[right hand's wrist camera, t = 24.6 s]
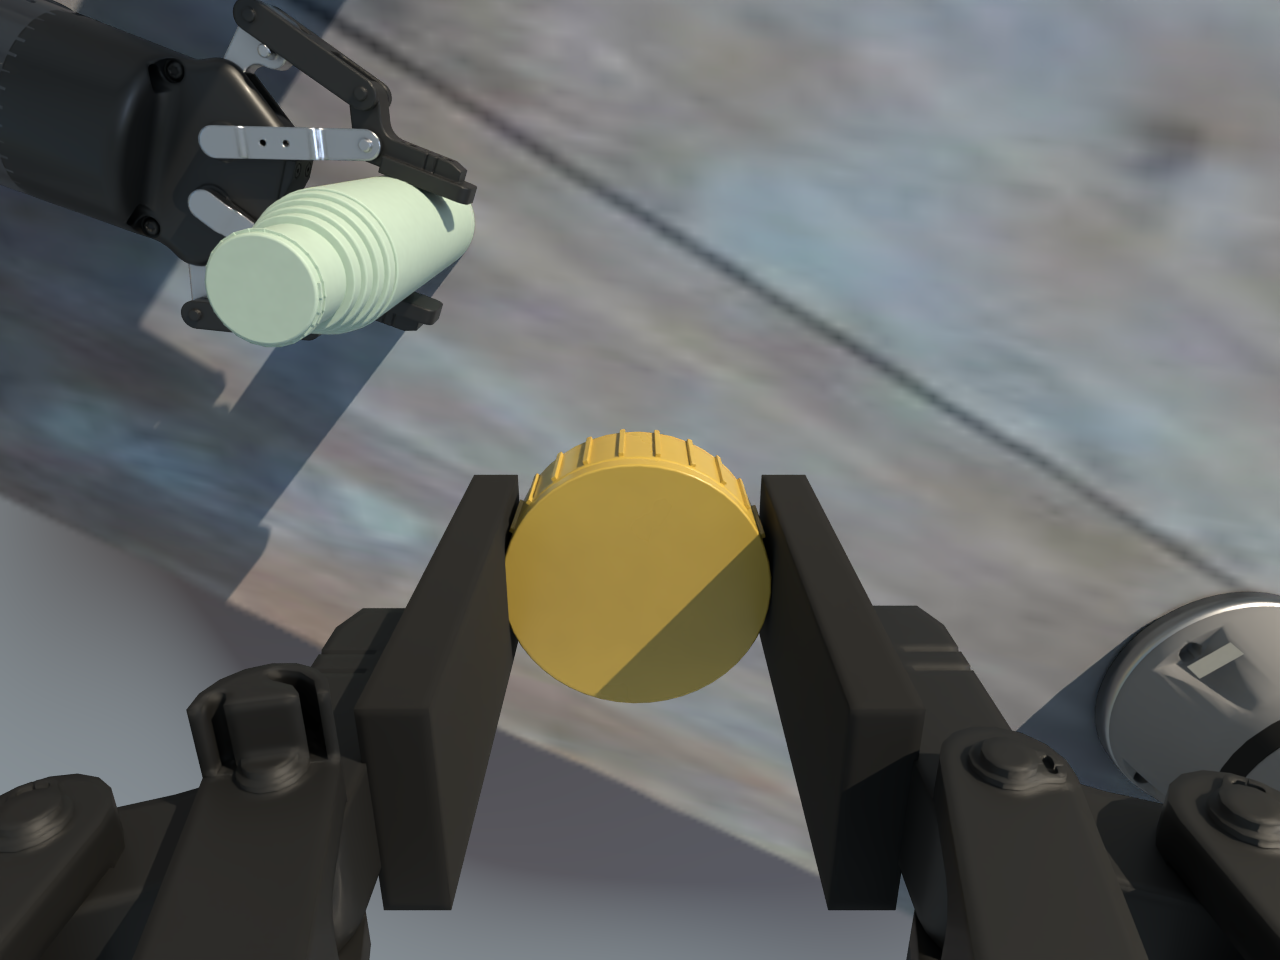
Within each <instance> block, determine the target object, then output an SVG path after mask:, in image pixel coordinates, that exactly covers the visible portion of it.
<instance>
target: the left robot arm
mask: <svg viewBox="0 0 1280 960" xmlns="http://www.w3.org/2000/svg"><path fill="white" fill-rule="evenodd" d="M233 16H234V19H235V21H236V23H237V25H238V27H237V29H236V32H235V34H234V36H233V38H232V40H231V42H230V45H229V47H228V49H227V51H226V53H225V55H224V58H209V59H202V60H197V59H194V58H191V57H188V56H186V55H183V54H181V53H178V52H175V51H173V50H170V49H168V48H165V47H163V46H160V45H158V44H155V43H153V42H150V41H147V40H145V39H142V38H140V37H137V36H135V35H132V34H130V33H127V32H124V31H122V30H119V29H117V28H114V27H112V26H109V25H107V24H104V23H102V22H99V21H97V20H94V19H91V18H89V17H86V16H84V15H81V14H79V13H75V12H73V11H72V10H71V9H69V8H68V7H66V6H64V5H62V4H60V3H58V2H56V1H53V0H0V185H3V186H6V187H8V188H11V189H14V190H17V191H20V192H23V193H25V194H28V195H31V196H34V197H36V198H39V199H42V200H45V201H48V202H50V203H53V204H56V205H59V206H62V207H65V208H67V209H70V210H73V211H76V212H79V213H81V214H84V215H87V216H90V217H93V218H95V219H98V220H101V221H104V222H107V223H109V224H112V225H115V226H118V227H120V228H123V229H126V230H129V231H132V232H134V233H137V234H140V235H143V236H146V237H149V238H152V239H155V240H157V241H159V242H161V243H163V244H164V245H166V246H167V247H168V248H169V249H171V250H172V251H173V252H174V253H175V254H176V255H177V256H178V257H179V258H180V259H181V260H183V261H184V262H186V263H188V264H189V273H190V283H191V294H192V301H189V302H187V303H185V304H184V305H183V307H182V309H181V315H182V318H183V320H184V322H185V323H186V324H187V325H189V326H190V327H192V328H196V329H205V330H215V331H224V332H232V331H231V330H229V329H228V328H227V327H226V326H225V325H223V323H222V321H221V320H220V319H219V318H218V316H217V315H216V314H215V312H214V310H213V308H212V306H211V305H210V302H209V299H208V297H207V293H206V287H205V271H206V265H207V262H208V259H209V257H210V254H211V252H212V251H213V250H214V248H215V247H216V246H217V245H218V243H219V242H220V241H221V240H222V239H224V238H225V237H227V236H229V235H230V234H232V233H233V232H237V231H240V230H244V229H248V228H252V227H253V226H254V224H255V223H256V221H257V220H258V219H259V217H260V216H261V215H262V213H263V212H264V211H265V210H266V209H267V208H268V207H269V206H270V205H272V204H273V203H274V202H276V201H277V200H279V199H281V198H282V197H284V196H286V195H287V194H289V193H292V192H294V191H297V190H301V189H304V187H305V185H306V183H307V182H308V180H309V178H310V173H311V169H312V164H313V160H345V161H366V162H369V163H371V164H374V165H377V166H379V167H380V168H379V173H381V174H384V175H387V176H389V177H392V178H394V179H398V180H401V181H403V182H406V183H408V184H410V185H413V186H415V187H418V188H420V189H423V190H426V191H428V192H431V193H434V194H436V195H439V196H441V197H444V198H447V199H449V200H452V201H454V202H457V203H460V204H464V205H468V204H471V203H473V200H474V196H475V193H476V189H477V186H475V185H473V184H471V183H468V182H466V181H464V180H465V176H466V173H467V170H466V169H465V168H464V167H463V166H462V165H461V164H460V163H458V162H457V161H455V160H452V159H450V158H447V157H444V156H442V155H440V154H437V153H434V152H432V151H429V150H427V149H424V148H422V147H419V146H417V145H414V144H411V143H409V142H406V141H404V140H402V139H400V138H399V137H398V136H397V135H396V134H395V133H394V131H393V129H392V127H391V124H390V115H389V106H390V104H391V101H392V96H391V92H390V90H389V88H388V87H387V86H386V85H385V84H384V83H383V82H381V81H380V80H378V79H377V78H376V77H374V76H373V75H371V74H370V73H369V72H367V71H366V70H364V69H363V68H362V67H360V66H359V65H357V64H356V63H355V62H353V61H352V60H350V59H349V58H348V57H346V56H345V55H343V54H342V53H341V52H339V51H338V50H336V49H335V48H334V47H332V46H331V45H330V44H328V43H327V42H325V41H324V40H323V39H321V38H320V37H318V36H317V35H316V34H314V33H313V32H311V31H310V30H309V29H307V28H306V27H304V26H303V25H302V24H300V23H299V22H297V21H296V20H295V19H293V18H292V17H290V16H289V15H288V14H286V13H285V12H283V11H282V10H281V9H279V8H277V7H275V6H272V5H270V4H267V3H265V2H262V1H259V0H237V1H236V3H235V5H234V8H233ZM292 65H294V66H295V67H297V68H298V69H299V70H301V71H302V72H304V73H305V74H306V75H308V76H309V77H311V78H312V79H314V80H315V81H316V82H318V83H319V84H321V85H322V86H324V87H325V88H326V89H328V90H329V91H331V92H332V93H334V94H335V95H336V96H338V97H339V98H341V99H342V100H344V101H345V102H346V103H348V104H349V105H350V113H351V122H352V129H343V128H303V127H294V125H293V124H292V123H291V121H290V120H289V119H288V117H287V116H286V115H285V113H284V112H283V111H282V109H281V108H280V107H279V105H278V104H277V103H276V102H275V100H274V99H273V98H272V96H271V95H270V94H269V92H268V91H267V90H266V88H265V87H264V86H263V84H262V83H261V82H260V80H259V79H258V78H257V76H256V75H255V74H254V73H255V71H256V70H257V69H258V68H260V67H262V66H265V67H267V68H269V69H274V70H279V71H285V70H288V69H289V68H291V66H292ZM442 306H443V304H442V303H441V302H440V301H438V300H436V299H433V298H430V297H428V296H425V295H422V294H419V293H417V292H413V293H412V294H410V295H409V296H408V297H406V298H405V299H403V300H402V301H401V302H399V303H398V304H397V305H395V306H394V307H393V308H391V309H390V310H389V311H387V312H386V313H384V314H383V315H382V316H380V317H379V318H378V319H376V321H379V322H381V323H384V324H387V325H390V326H393V327H395V328H398V329H401V330H404V331H416V330H417V329H419V328H420V327H421V326H422V325H423V324H426V325H433V324H434V323H435V322H436V321H437V320H438V319H439V316H440V313H441V309H442ZM320 335H321V334H312V333H310V334H309V335H307V336H306V337H304V338H302V339H301V340H313V339H315V338H317V337H318V336H320Z"/></svg>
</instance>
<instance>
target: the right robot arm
mask: <svg viewBox="0 0 1280 960" xmlns="http://www.w3.org/2000/svg"><path fill="white" fill-rule="evenodd" d="M518 504H519V488H518V475H474V476H473V478H472V480H471V482H470V484H469V486H468V488H467V490H466V492H465V494H464V496H463V498H462V500H461V502H460V504H459V506H458V507H457V509H456V511H455V513H454V515H453V517H452V519H451V521H450V523H449V525H448V527H447V529H446V531H445V533H444V535H443V537H442V539H441V540H440V542H439V544H438V546H437V548H436V550H435V552H434V554H433V556H432V558H431V560H430V562H429V564H428V566H427V568H426V570H425V571H424V573H423V575H422V577H421V579H420V581H419V583H418V585H417V587H416V589H415V591H414V593H413V595H412V597H411V599H410V601H409V602H408V604H407V606H406V608H363V609H361V610H360V611H359V612H357V613H356V614H354V615H353V616H352V617H350V618H349V619H347V620H346V621H345V622H343V623H342V624H340V625H339V626H338V627H336V628H335V630H334V632H333V633H332V635H331V636H330V638H329V639H328V641H327V643H326V644H325V646H324V647H323V649H322V654H319V655H318V657H317V658H316V660H315V661H314V663H313V664H312V666H311V667H309V666H305V665H301V664H297V663H273V664H267V665H263V666H258V667H253V668H248V669H245V670H242V671H240V672H237V673H235V674H232V675H230V676H227V677H225V678H223V679H220V680H219V681H217V682H216V683H214V684H213V685H211V686H210V687H208V688H207V689H205V690H204V691H202V692H201V693H199V695H198V696H197V697H196V698H195V700H194V701H193V702H192V703H191V705H190V706H189V707H188V708H187V715H188V719H189V723H190V727H191V731H192V735H193V739H194V744H195V748H196V752H197V756H198V760H199V764H200V768H201V773H202V777H203V779H202V781H201V784H200V786H199V788H196V789H193V790H190V791H186V792H182V793H179V794H176V795H171V796H167V797H162V798H158V799H153V800H149V801H144V802H140V803H135V804H130V805H126V806H121V807H117V806H116V803H115V800H114V796H113V793H112V789H111V787H109V786H108V785H107V784H106V783H105V782H104V781H102V780H101V779H100V778H99V777H93V776H88V775H82V774H70V775H61V776H51V777H47V778H44V779H40V780H36V781H34V782H30V783H27V784H24V785H21V786H18V787H16V788H14V789H12V790H10V791H9V792H6V793H4V794H2V795H0V960H369V958H370V947H371V942H370V936H369V929H368V923H367V916H366V908H367V906H368V903H369V900H370V897H371V894H372V892H373V889H374V886H375V884H376V881H377V878H378V875H379V881H380V887H381V894H382V900H383V907H384V910H451V909H452V905H453V901H454V897H455V893H456V889H457V885H458V881H459V877H460V873H461V869H462V865H463V861H464V857H465V853H466V849H467V845H468V841H469V837H470V833H471V829H472V825H473V821H474V817H475V813H476V809H477V805H478V801H479V797H480V793H481V789H482V785H483V780H484V776H485V772H486V769H487V765H488V760H489V756H490V752H491V748H492V744H493V740H494V736H495V732H496V728H497V724H498V720H499V716H500V712H501V708H502V704H503V700H504V696H505V692H506V688H507V684H508V680H509V676H510V672H511V668H512V664H513V660H514V656H515V652H516V648H517V644H518V639H517V638H516V636H515V634H514V633H513V631H512V628H511V626H510V624H509V613H508V598H507V583H506V568H505V554H506V551H507V548H508V545H509V542H510V539H511V536H512V533H511V532H509V530H510V527H511V524H512V521H513V518H514V515H515V513H516V510H517V507H518ZM759 518H760V521H761V524H762V527H763V530H764V533H765V536H766V537H765V538H762V539H763V542H764V545H765V549H766V552H767V556H768V559H769V564H770V571H771V596H770V602H769V608H768V612H767V615H766V618H765V621H764V624H763V626H762V628H761V630H760V632H759V634H760V638H761V642H762V646H763V650H764V654H765V658H766V662H767V666H768V670H769V674H770V678H771V682H772V686H773V690H774V694H775V698H776V702H777V706H778V710H779V714H780V718H781V722H782V726H783V730H784V734H785V738H786V742H787V747H788V751H789V755H790V759H791V763H792V767H793V771H794V775H795V779H796V783H797V787H798V791H799V795H800V799H801V803H802V807H803V811H804V815H805V819H806V823H807V827H808V831H809V835H810V839H811V843H812V847H813V851H814V855H815V859H816V863H817V867H818V871H819V875H820V879H821V883H822V887H823V891H824V895H825V899H826V903H827V907H828V910H896V904H897V897H898V890H899V884H900V877H901V873H902V875H903V878H904V881H905V884H906V886H907V889H908V892H909V895H910V897H911V900H912V903H913V906H914V908H915V910H914V916H913V923H912V929H911V935H910V941H909V947H908V953H907V959H906V960H1280V596H1279V595H1274V594H1269V593H1261V592H1235V593H1226V594H1220V595H1215V596H1211V597H1207V598H1204V599H1201V600H1198V601H1194V602H1192V603H1189V604H1187V605H1184V606H1182V607H1180V608H1178V609H1176V610H1174V611H1172V612H1170V613H1168V614H1166V615H1164V616H1163V617H1161V618H1159V619H1158V620H1156V621H1155V622H1153V623H1152V624H1150V625H1149V626H1148V627H1146V628H1145V629H1144V630H1143V631H1141V632H1140V633H1139V634H1138V635H1137V636H1136V637H1135V638H1133V639H1132V640H1131V641H1130V642H1129V643H1128V644H1127V645H1126V647H1125V648H1124V649H1123V650H1122V651H1121V652H1120V653H1119V655H1118V656H1117V657H1116V659H1115V660H1114V661H1113V663H1112V665H1111V666H1110V668H1109V669H1108V671H1107V673H1106V675H1105V677H1104V679H1103V681H1102V684H1101V686H1100V689H1099V693H1098V696H1097V701H1096V707H1095V722H1096V729H1097V733H1098V736H1099V739H1100V742H1101V744H1102V746H1103V748H1104V749H1105V751H1106V752H1107V754H1108V755H1109V756H1110V758H1111V759H1112V760H1113V762H1114V763H1115V764H1116V765H1117V767H1118V768H1119V769H1120V771H1121V772H1122V773H1123V774H1124V775H1125V776H1126V777H1127V778H1128V779H1129V780H1130V781H1131V782H1132V783H1133V784H1135V785H1136V786H1137V787H1139V788H1140V789H1141V790H1143V791H1144V792H1146V793H1147V794H1148V795H1150V796H1152V797H1153V798H1155V799H1157V800H1158V801H1160V802H1161V803H1163V804H1161V803H1156V802H1152V801H1147V800H1142V799H1138V798H1133V797H1129V796H1124V795H1120V794H1115V793H1110V792H1106V791H1102V790H1099V789H1095V788H1092V787H1088V786H1085V785H1082V784H1080V782H1079V780H1078V777H1077V776H1076V774H1075V773H1074V771H1073V770H1072V768H1071V767H1070V765H1069V764H1068V762H1067V761H1066V760H1065V759H1064V758H1063V757H1062V756H1060V755H1059V754H1058V753H1056V752H1055V751H1054V750H1053V749H1051V748H1050V747H1049V746H1047V745H1046V744H1044V743H1042V742H1040V741H1038V740H1036V739H1033V738H1031V737H1029V736H1027V735H1025V734H1023V733H1019V732H1015V731H1012V730H1011V728H1010V727H1009V725H1008V724H1007V722H1006V721H1005V719H1004V717H1003V716H1002V714H1001V713H1000V711H999V710H998V708H997V707H996V705H995V703H994V702H993V700H992V699H991V697H990V696H989V694H988V693H987V691H986V690H985V688H984V686H983V685H982V683H981V682H980V680H979V679H978V677H977V676H976V674H975V673H974V671H971V670H970V665H969V663H968V662H967V660H966V659H965V657H964V656H963V654H962V652H958V646H957V645H956V643H955V642H954V640H953V638H952V637H951V635H950V634H949V632H948V631H947V629H946V628H945V626H944V625H943V624H942V623H940V622H939V621H937V620H936V619H935V618H933V617H932V616H930V615H929V614H928V613H926V612H925V611H923V610H922V609H921V608H919V607H918V606H872V604H871V602H870V600H869V598H868V596H867V594H866V592H865V590H864V588H863V586H862V584H861V582H860V580H859V578H858V576H857V574H856V573H855V571H854V569H853V567H852V565H851V563H850V561H849V559H848V557H847V555H846V553H845V551H844V549H843V547H842V545H841V543H840V542H839V540H838V538H837V536H836V534H835V532H834V530H833V528H832V526H831V524H830V522H829V520H828V518H827V516H826V514H825V512H824V510H823V509H822V507H821V505H820V503H819V501H818V499H817V497H816V495H815V493H814V491H813V489H812V487H811V485H810V483H809V481H808V479H807V478H806V476H805V475H762V479H761V496H760V514H759Z"/></svg>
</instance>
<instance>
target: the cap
mask: <svg viewBox="0 0 1280 960" xmlns="http://www.w3.org/2000/svg"><path fill="white" fill-rule="evenodd" d="M509 532H511V533H512V536H511V539H510V542H509V545H508V548H507V551H506V554H505V568H506V583H507V598H508V613H509V624H510V626H511V628H512V631H513V633H514V634H515V636H516V638H517V639H518V641H519V643H520V644H521V646H522V647H523V649H524V650H525V651H526V652H527V654H528V655H529V656H530V657H531V659H532V660H533V661H534V662H535V663H536V664H537V665H539V666H540V667H541V668H542V669H543V670H544V671H545V672H547V673H548V674H549V675H551V676H552V677H553V678H555V679H556V680H558V681H559V682H561V683H563V684H565V685H566V686H568V687H570V688H572V689H574V690H577V691H579V692H581V693H584V694H586V695H590V696H593V697H596V698H600V699H604V700H610V701H615V702H625V703H650V702H657V701H664V700H669V699H673V698H677V697H681V696H684V695H686V694H689V693H692V692H694V691H697V690H699V689H701V688H703V687H705V686H707V685H709V684H710V683H712V682H714V681H715V680H717V679H718V678H720V677H721V676H723V675H724V674H725V673H727V672H728V671H729V670H730V669H731V668H732V667H733V666H734V665H736V664H737V663H738V662H739V661H740V659H741V658H742V657H743V656H744V655H745V654H746V653H747V651H748V650H749V649H750V647H751V646H752V644H753V643H754V641H755V640H756V638H757V636H758V634H759V632H760V630H761V628H762V626H763V624H764V621H765V618H766V615H767V612H768V608H769V602H770V596H771V571H770V564H769V559H768V556H767V552H766V549H765V545H764V542H763V539H762V538H765V537H766V536H765V533H764V530H763V527H762V524H761V521H760V518H759V515H758V512H757V509H756V506H755V505H753V506H752V505H751V503H750V501H749V499H748V497H747V494H746V491H745V488H744V485H743V482H742V480H741V479H740V478H739V479H736V478H735V477H734V475H733V474H732V473H731V472H730V471H729V470H728V469H727V468H726V467H725V466H724V465H723V464H722V462H721V458H720V457H719V456H717V455H716V457H713V456H712V455H710V454H709V453H707V452H706V451H704V450H703V449H701V448H699V447H697V446H695V445H693V443H692V440H690V439H687V441H684V440H681V439H678V438H675V437H672V436H667V435H662V434H660V433H659V431H658V430H654V433H648V432H625V429H623V430H620V433H617V434H610V435H605V436H602V437H599V438H595V439H592V437H588V438H587V440H586V442H585V443H582V444H580V445H578V446H576V447H574V448H572V449H571V450H569V451H567V452H566V453H564V454H563V453H562V452H560V453H558V454H557V458H556V460H555V461H554V462H552V463H551V464H550V465H549V466H548V467H547V468H546V469H545V470H544V471H543V472H542V473H541V474H540V475H539V474H536V475H535V476H534V479H533V482H532V485H531V488H530V489H529V491H528V493H527V495H526V497H525V499H524V501H523V500H520V501H519V504H518V507H517V510H516V513H515V515H514V518H513V521H512V524H511V527H510V530H509Z"/></svg>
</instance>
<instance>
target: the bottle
mask: <svg viewBox="0 0 1280 960" xmlns="http://www.w3.org/2000/svg"><path fill="white" fill-rule="evenodd" d="M473 234H474V214H473V210H472V207H471V204H468V205H464V204H460V203H457V202H454V201H452V200H449V199H447V198H444V197H441V196H439V195H436V194H434V193H431V192H428V191H426V190H423V189H420V188H418V187H415V186H413V185H410V184H408V183H406V182H403V181H401V180H398V179H394V178H392V177H389V176H387V175H384V176H378V177H372V178H366V179H360V180H354V181H348V182H342V183H336V184H329V185H323V186H317V187H311V188H306V189H301V190H297V191H294V192H292V193H289V194H287V195H286V196H284V197H282V198H281V199H279V200H277V201H276V202H274V203H273V204H272V205H270V206H269V207H268V208H267V209H266V210H265V211H264V212H263V213H262V215H261V216H260V217H259V219H258V220H257V221H256V223H255V224H254V226H253V227H252V228H248V229H244V230H240V231H237V232H233V233H232V234H230V235H229V236H227V237H225V238H224V239H222V240H221V241H220V242H219V243H218V245H217V246H216V247H215V248H214V250H213V251H212V252H211V254H210V257H209V259H208V262H207V265H206V271H205V287H206V293H207V297H208V299H209V302H210V305H211V306H212V308H213V310H214V312H215V314H216V315H217V316H218V318H219V319H220V320H221V321H222V323H223V325H225V326H226V327H227V328H228V329H229V330H231V331H232V332H233V333H234V334H236V336H238V337H240V338H242V339H244V340H246V341H248V342H250V343H252V344H256V345H260V346H264V347H283V346H287V345H290V344H294V343H296V342H297V341H299V340H301V339H302V338H304V337H306V336H307V335H309V334H310V333H312V334H327V335H333V334H342V333H347V332H350V331H354V330H357V329H360V328H363V327H365V326H367V325H369V324H371V323H372V322H373V321H375V320H376V319H378V318H379V317H380V316H382V315H383V314H384V313H386V312H387V311H389V310H390V309H391V308H393V307H394V306H395V305H397V304H398V303H399V302H401V301H402V300H403V299H405V298H406V297H408V296H409V295H410V294H412V293H413V292H414V291H416V290H417V289H418V288H420V287H421V286H422V285H424V284H425V283H427V282H428V281H429V280H431V279H432V278H433V277H435V276H436V275H437V274H439V273H440V272H441V271H443V270H444V269H446V268H447V267H448V266H450V265H451V264H452V263H454V262H455V261H456V260H458V259H459V258H460V257H461V256H462V255H463V254H464V253H465V252H466V250H467V249H468V247H469V245H470V243H471V241H472V237H473Z"/></svg>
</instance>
